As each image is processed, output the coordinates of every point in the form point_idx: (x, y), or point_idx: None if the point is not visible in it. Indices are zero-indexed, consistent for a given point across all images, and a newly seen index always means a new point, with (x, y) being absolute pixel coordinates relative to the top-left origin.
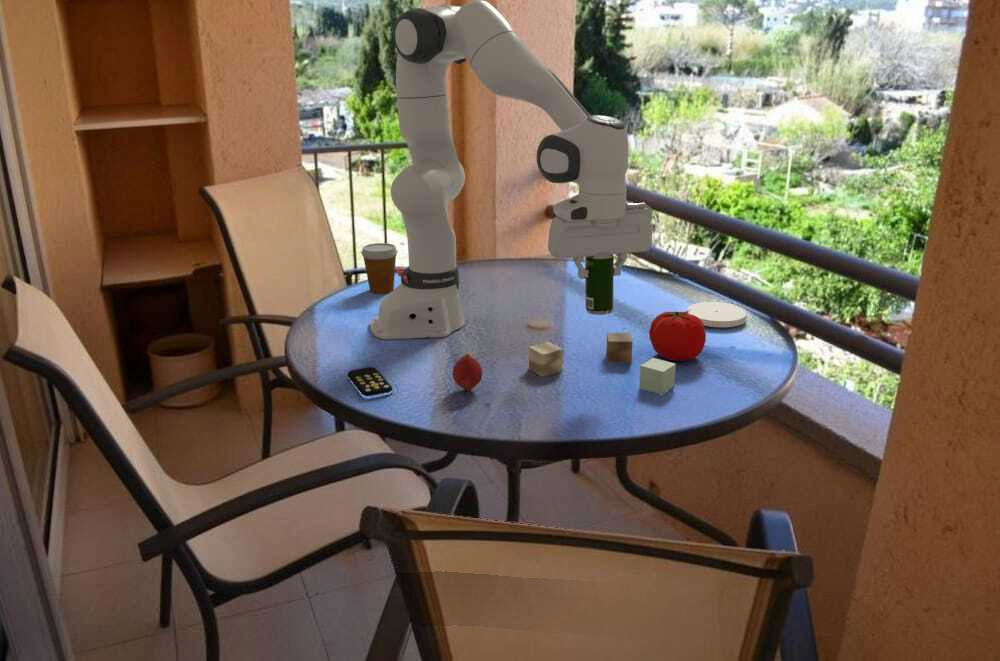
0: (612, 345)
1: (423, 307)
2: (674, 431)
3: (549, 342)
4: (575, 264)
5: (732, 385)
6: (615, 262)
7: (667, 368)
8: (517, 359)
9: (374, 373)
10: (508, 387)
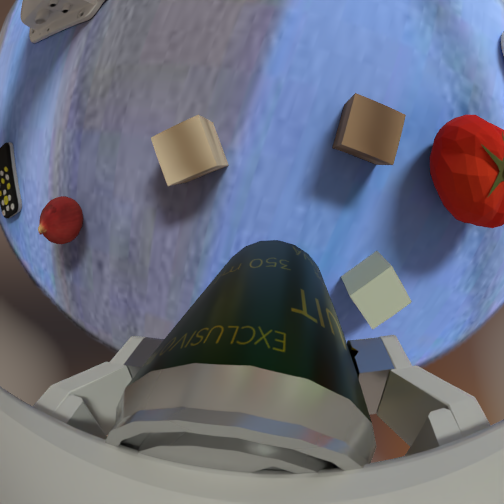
0: (348, 148)
1: (48, 3)
2: None
3: (198, 119)
4: (82, 373)
5: (462, 297)
6: (402, 380)
7: (387, 317)
8: (162, 97)
9: (5, 167)
10: (127, 215)
